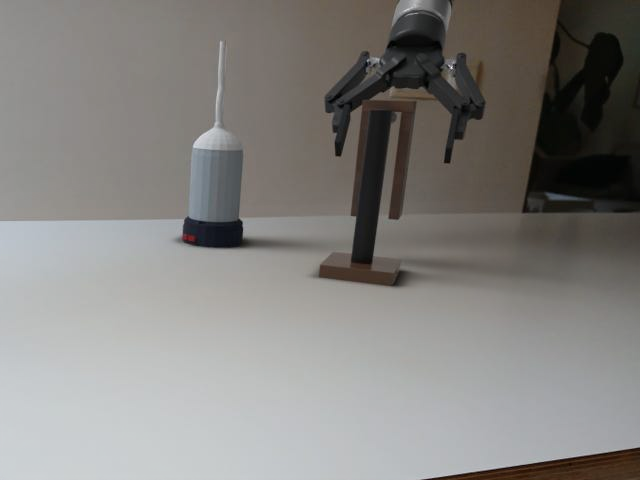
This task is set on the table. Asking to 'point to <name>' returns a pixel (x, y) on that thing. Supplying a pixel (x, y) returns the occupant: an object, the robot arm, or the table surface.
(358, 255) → the post on base
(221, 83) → the humidifier
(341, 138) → the robot arm
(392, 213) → the wooden arch frame
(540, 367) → the table surface
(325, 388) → the table surface
